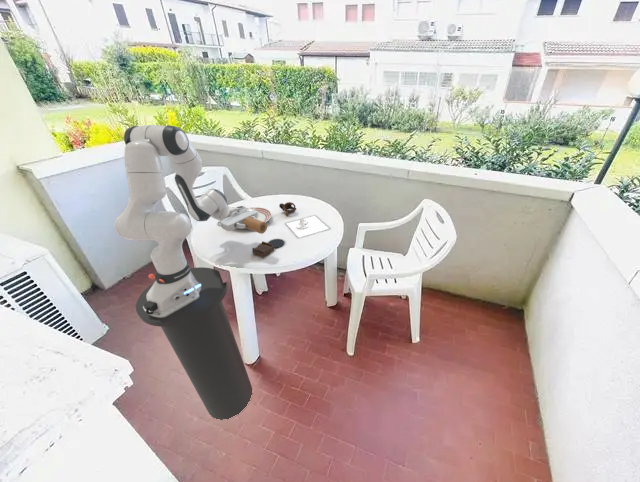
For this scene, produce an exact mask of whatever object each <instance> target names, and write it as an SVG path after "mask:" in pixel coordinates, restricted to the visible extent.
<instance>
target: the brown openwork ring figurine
mask: <svg viewBox="0 0 640 482" xmlns="http://www.w3.org/2000/svg"><path fill="white" fill-rule="evenodd" d="M278 206H279V208H280V209H281V210H282V212H285V216H289V215H291V214H294V212H296V210H297V206H296V205H295V203H293V202H292V201H291V202H290V201H288V202H285V203H281V202H280V203H279V205H278Z"/></svg>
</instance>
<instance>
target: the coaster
mask: <svg viewBox="0 0 640 482" xmlns="http://www.w3.org/2000/svg"><path fill="white" fill-rule="evenodd" d="M267 243H270V244H273V247H274V249H280V248H281V247H283V246H284V245H285V241H284V240H283V239H282V238H281V239H280V238H274V239H271V240H269V241H268V242H267Z"/></svg>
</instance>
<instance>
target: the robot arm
mask: <svg viewBox="0 0 640 482" xmlns="http://www.w3.org/2000/svg"><path fill="white" fill-rule="evenodd" d="M123 140H124V144H125V147H124V169H125V174H126V180H127V186H128V187H127V188H128V201H127V205H126V207H125V209H124V210H123V212H122V213H121V214H120V215H118V216H117V217H116V219H115V221H114V230H115V232H116V233H117V235H118V236H119V237H120V238H121V239H124V240H129V241H137V242H143V241H144V242H145V241H147V242H149V241H155V242H156V243H157V244H158V245H157V246H156V247H154V248H153V249H152V250H151V253H150V260H151V262H152V264H153V266H154V268H155V270H156V271H155V274H154V273H149V274H148V279H150V280H155V281H154V282H153V283H154V284H153V283H152V284H153V285H152V287H151V288H150V290H149V291H148V293H147V295H146V299H147V302H146V303H145V304H143V309H144V311H145V312H146V313H147V314H149V315H151V316H153V317H157V318H164V317H167V316H168V315H170V314H172V313H174V312H176V311H177V310H179V309H181V308H183V307H184V306H186V305H188V304H190V303H191V302H193V301H195V300H197V299H198V298H199V297H200V295H199V293H200V290H201V284H199V283H198V281H197V280H196V279H195V277H194V276H193V274H192V272H191V268H192V267H191V265H190V263H189V261H188V260H187V258H186V256H185V253H184V250H183V242H184V240H185V239H186V238H188V237H189V235H190V234H191V233H192V227H193V226H192V225H193V224H192V221H191V219H190V217H191V218H192V219H193V220H195V221H196V222H207V221H208V220H209V219H210V218H212V219H214V220H217V223H216V226H218V227H220V228H221V229H223V230H225V231H227V232H233V231H234V230H236V229H241V228H245V229H247V228H246V227H247V225H246V224H243V222H244V220H245V218H247V217H251V218H254V219H256V218H258V212H257V211H256V210H254V209H251V208H250V207H246V206H245V205H239V206H232V207H231V206H228V199H227V197H226V195H225V194H224V193H223V192H222V191H220V190H219V189H215V188H209V189H208V190H206V191H205V192H204V193H203V194H202V195H201V196H200V197H198V198H197V196H196V194H195V192H194V184H195V182H196V180H197V178H198V176H199V175H200V173H201V172H202V170H203V161H202V157H201V155H200V154H199V152H198V151H197V149H196V147H195V146H194V145H193V143H192V142H191V140H190V139H189V137H188V136H187V134H186V133H185V132H184V130H183V129H182V128H180V127H178V126H175V125H171V124H169V125H168V124H167V125H161V124H159V125H158V124H157V125H156V124H145V125H133V126H130V127H128V128H127V129H125V131H124V133H123ZM161 157H168V158H169V160H170V162H172V164H173V167H174V172H175V173H174V174H175V175H174V181H175V184H176V186H177V189H178V191H179V193H180V194H181V197H182V199H183V201H184V203H185V205H186V207H187V211H188V214H189V215H190V217H188V215H187V214H185V213H182V212H177V211H171V210H167V211H164V210H163V211H161V210H160V211H156V205H157V203H158V202H160V201H161V200H163V199H164V198H165V197H166V195H167V187H166V180H165V175H164V168H163V164H162V160H161ZM257 220H258V219H257Z"/></svg>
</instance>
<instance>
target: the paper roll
mask: <svg viewBox="0 0 640 482" xmlns="http://www.w3.org/2000/svg"><path fill="white" fill-rule="evenodd" d="M243 224H246V225H247V227H246V228H245V229H248V230H250V231H253V232H256V233H257V234H261V235H263V234H265V233H266V231H267V229H268V224H267V222H266V223H265V222H263V221H260V220H257V219H254V218H251V217H247V218H245V220H244V222H243Z"/></svg>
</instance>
